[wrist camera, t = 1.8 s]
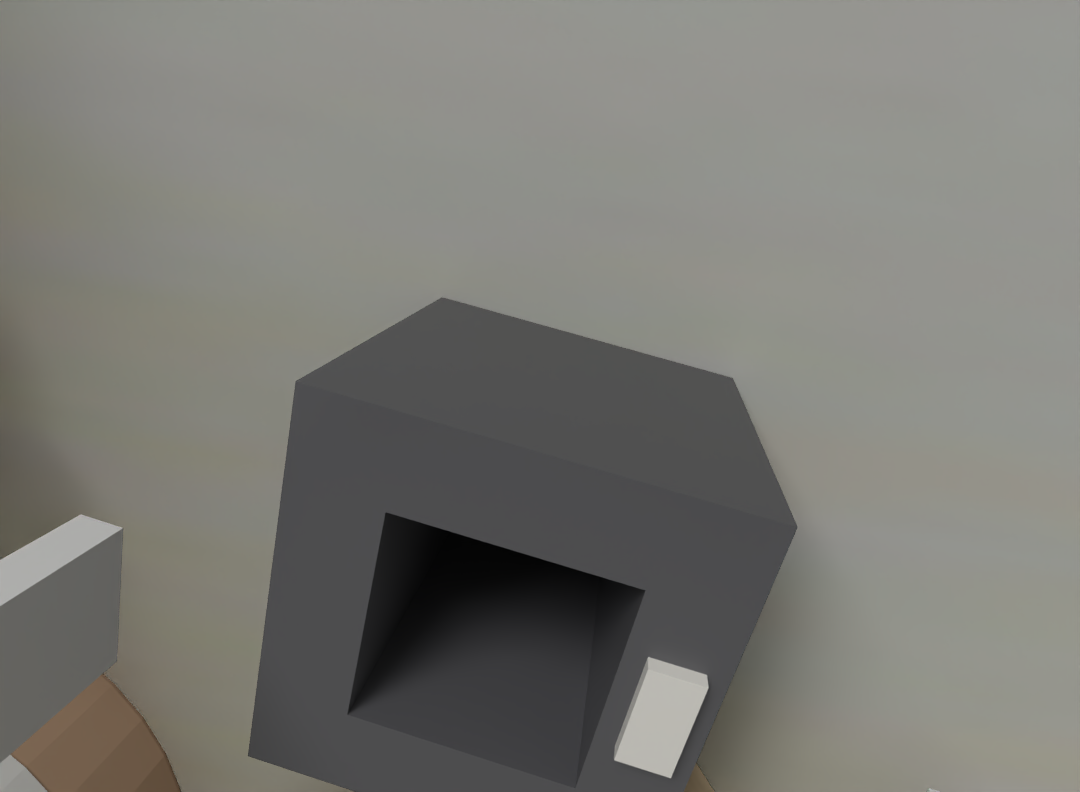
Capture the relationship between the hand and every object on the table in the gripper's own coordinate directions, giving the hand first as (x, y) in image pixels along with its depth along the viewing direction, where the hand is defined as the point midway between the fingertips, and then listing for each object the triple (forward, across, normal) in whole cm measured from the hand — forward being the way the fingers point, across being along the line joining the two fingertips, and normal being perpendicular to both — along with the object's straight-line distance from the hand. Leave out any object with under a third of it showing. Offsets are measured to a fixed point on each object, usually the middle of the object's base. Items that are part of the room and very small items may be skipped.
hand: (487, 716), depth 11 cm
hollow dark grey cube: (+9, 0, 0) cm, 9 cm away
